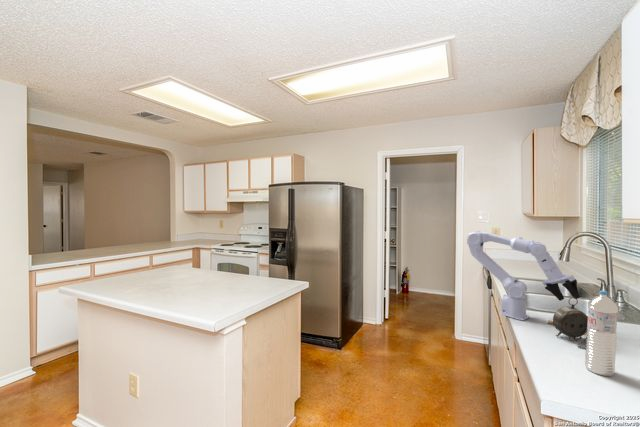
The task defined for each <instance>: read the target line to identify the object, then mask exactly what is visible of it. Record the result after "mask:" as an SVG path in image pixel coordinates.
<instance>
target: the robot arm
mask: <svg viewBox="0 0 640 427" xmlns="http://www.w3.org/2000/svg"><path fill="white" fill-rule="evenodd" d="M488 242H492V243H498V244H502V245H505V246H509V247H510V248H511V250H514V251H517V252H522V253H525V254H530V255H531V256H533V257H534V259H535V260H536V261H537V263H538V265H539V267H540V268H541V270H542V271H543V273H544V275H545V276H546V277H547V278H546V279H545V280H542V281H541V283H542V284H543V286H545V287H544V289H545V290H547V291H548V292H550V293H551V294H552V295H553V296H554V297H555V298H556V299H557V300H558V301H563V300H565V296H564V295H563V293H562V291H561V289H560V286H559V283H562V284H561V286H562V287H564V288H565V289H566V290H567V291H568V292H569V293H570V295H571V296H572V297H575V298H576V299H577V300H578V299H579V298H581V295H580V293H579V291H578V280H577V279H576V278H575V277H574V275H573V274H569V275H568V274H567V275H566V274H563V272H562V270H561V269H560V267H559V266H558V265H557V263H556V262H555V259H554V258H553V257H552V256H551V255H550V253H549V251H548V250H547V247H546V245H545V244H544V243H542V242H540V241H535V240H528V239H525V238H523V237H521V236H518V237H514V238H509V237H505V236H502V235H498V234H495V233H492V232H486V231H480V230H477V231H476V230H475V231H473V232H470V233H468V235H467V237H466V244H467V245H468V248H469V251H470V253H471V256H472V257H473V258H474V259H475V260H476V261H478V263H480V264H481V265H482V266H483V267H484V268H485V269H486V270H487V271H488V272H490V273H491V274H492V275H493V276H494V277H495V278H496V279H497V280H498V281H499V282H501V283H502V285H503V287H504V288H505V290H506V291H507V293H508V294H504V295H502V298H501V302H500V303H501V304H500V315H501V316H505V317H509V318H511V319H516V320H519V321H522V322H523V321H525V320H526V319H528V318H530V315H528V314H527V303H528V302H527V299H528V298H527V296H526V292H527V291H528V287H527V285H526V284H525V282H523V281H521V280H519V279H517V278H516V277H514V276H512V275H511V274H509V273H508V272H507V270H505V269H504V268H503V267H501V265H499V264H498V263H497V262H496V261H495V260H494V259H493V258H491V257H490V256H489V255H488V254H487V253H486V252H484V244H485V243H488ZM575 298H573V299H574V300H576V299H575Z"/></svg>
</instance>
